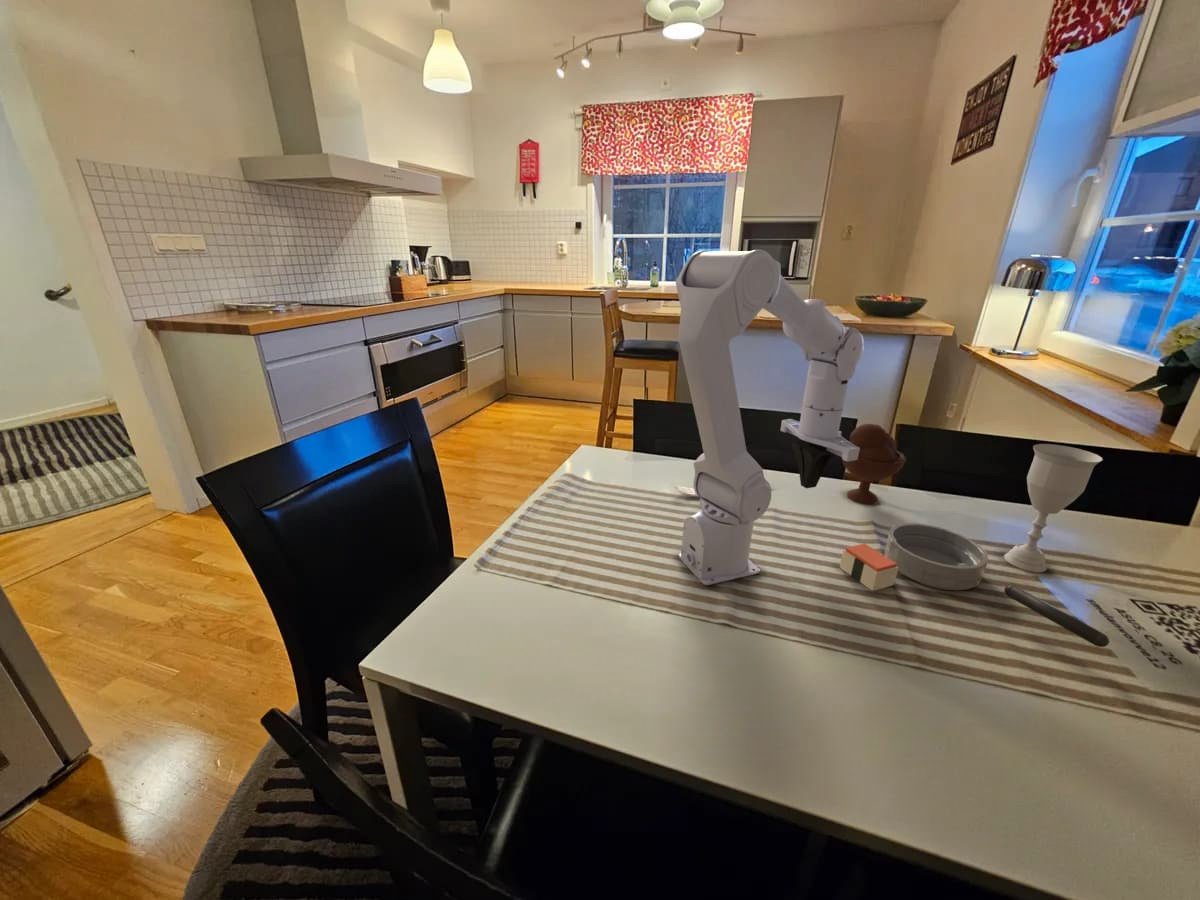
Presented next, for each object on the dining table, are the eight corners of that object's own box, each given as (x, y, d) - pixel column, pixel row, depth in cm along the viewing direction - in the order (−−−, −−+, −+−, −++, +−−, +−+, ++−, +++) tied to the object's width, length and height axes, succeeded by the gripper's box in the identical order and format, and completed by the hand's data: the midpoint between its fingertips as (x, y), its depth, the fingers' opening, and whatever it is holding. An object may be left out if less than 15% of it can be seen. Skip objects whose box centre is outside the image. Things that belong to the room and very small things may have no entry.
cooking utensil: (770, 488, 98) (771, 480, 97) (676, 498, 93) (676, 489, 93) (761, 482, 101) (762, 473, 100) (670, 491, 96) (670, 482, 96)
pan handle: (1100, 651, 54) (1106, 640, 54) (999, 594, 64) (1003, 584, 63) (1109, 648, 55) (1114, 636, 54) (1008, 591, 64) (1011, 581, 64)
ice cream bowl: (890, 517, 88) (909, 438, 82) (824, 499, 94) (838, 425, 88) (899, 496, 95) (917, 422, 90) (837, 481, 102) (851, 411, 96)
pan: (938, 600, 66) (946, 575, 65) (865, 553, 77) (870, 530, 75) (1000, 582, 70) (1008, 558, 69) (921, 539, 81) (927, 517, 79)
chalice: (999, 567, 73) (1039, 455, 67) (991, 545, 79) (1027, 440, 73) (1062, 581, 70) (1111, 466, 64) (1049, 557, 76) (1092, 449, 69)
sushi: (872, 591, 68) (877, 570, 67) (838, 567, 73) (843, 547, 72) (894, 585, 69) (900, 564, 68) (860, 562, 74) (864, 542, 73)
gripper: (882, 416, 70) (863, 501, 75) (809, 392, 83) (797, 466, 88) (844, 421, 68) (826, 508, 73) (775, 395, 80) (764, 471, 85)
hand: (808, 485), depth 80 cm, fingers closed
